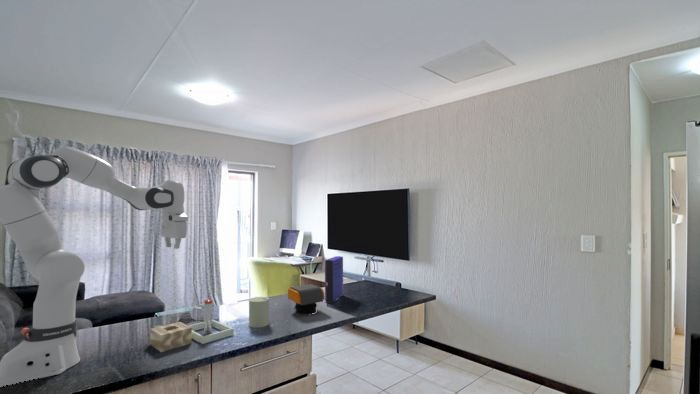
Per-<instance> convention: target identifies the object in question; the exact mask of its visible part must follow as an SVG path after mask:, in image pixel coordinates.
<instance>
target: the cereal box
mask: <svg viewBox="0 0 700 394" xmlns="http://www.w3.org/2000/svg"><path fill="white" fill-rule="evenodd" d="M341 295H343V296H344V257H343V256H341V255H340V256H339V255H337V256H336V255H335V256H333V257H331V258H327V259H325V260H324V296H325V299H324V302H325V301H326V302H325V303H327V302H333V301H335V300H336V299H337V298H339V297H340V296H341ZM339 299H340V298H339ZM336 301H337V300H336ZM336 301H335V302H336Z"/></svg>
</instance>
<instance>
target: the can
mask: <svg viewBox="0 0 700 394" xmlns="http://www.w3.org/2000/svg"><path fill="white" fill-rule="evenodd" d="M269 325H270V297H268V296H255V297H251V298H250V299H248V327H250V328H255V329H258V328H259V329H261V328H265V327H266V326H269Z"/></svg>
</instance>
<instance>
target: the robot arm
mask: <svg viewBox="0 0 700 394" xmlns="http://www.w3.org/2000/svg"><path fill="white" fill-rule="evenodd" d="M5 176H6V177H5V183H4V185H3V186H0V222H1V224H2V225H3V227H4V228H5V230H6V232H7V233H8V235H9V236H10V238H11V240H12V241H13V242H14V244H15V246H16V248H17V250H18V252H19V254H20V257H21V258H22V260H23V262H24V265H26V268H27V270H28V271H29V273H30V276H32V278H34V279H35V280H37V281H38V288H37V293H36V297H35V300H34V301H33V306H32V327H24V328H22V329H21V331H20V333H21V335H23V340H22V342H20V343H19V344H17V345H16V346H15V347H13V348H12V349H11V350H9V351H8V352H7V353H5V354H4V355H3V356H2V358H1V359H0V388H2V387H3V386H4V387H7V386H6V385H8V386H12V384H13V385H16V383H17V384H20V383H19V382H21V383H25V382H24V381H26V382H29V380H30V381H34V380H33V379H35V380H38V378H39V379H43V378H47V377H51V376H55V375H60V374H62V373H64V372H66V370H68V369H70V368H72V367H74V366H75V365H77V364H78V363H79V362H80V361H81V357H80V355H79V351H78V346H77V340H76V339H77V333H78V323H77V322H78V321H77V320H76V308H77V307H76V304H77V295H78V290H79V288H80V287H79V286H80V282H81V277H83V275H84V273H85V270H86V269H85V266H86V265H85V263H84V261H83V260H82V259H81V258H80V257H79V255H77V254H75V253H72V252H68V251H66V250H65V248H64V247H63V244H62V242H61V240H60V237H59V236H60V235H59V230H58V228H57V227H56V225H55V223H54V221H53V219H52V217H50V215H49V213H48V211H47V209H46V208H45V206H44V205H43V204H42V201H41V199H40V191H41V190H42V189H47V188H50V187H51V188H52V187H54V186H55V185H57V184H58V183H60V182H61V181H62V180H63V179H64V178H66V179H71V180H72V181H75V182H77V183H80V184H81V185H85V186H87V187H91V188H95V189H98V190H101V191H102V190H103V191H105V192H107V193H110V194H111V195H113V196H116V197H118V198H121V199H122V200H124V201H125V202H127V203H128V204H129V205H130V206H131V207H132V208H134V209H135V210H137V211H147V210H159V209H161V226H160V236H161V237H163V238H164V241H165V247H166V248H172V242H171V239H174V241H175V242H174V245H173V248H174V249H176V250H177V249H180V248H181V247H180V245H181V242H182V239H185V238H186V236H187V232H188V231H187V230H188V222H187V221H189V216H188V215H187V214H186V213H185V208H184V205H185V204H184V203H185V188H184V184H183V183H182V182H179V181H176V180H169V179H167V180H164V181H163V182H162V183H160V184H157V185H154V186H151V187H149V186H148V187H136V186H133V185H131V184H129V183H126V182H124V181H123V180H121V179H119V178H117V177H116V173H115V168H114V166H113V165H111V163H109V162H108V161H106V160H104V159H102V158H100V157H98V156H96V155H93V154H91V153H89V152H87V151H83V150H82V149H78V148H74V147H72V146H60V147H58V148H56V149H55V150H54V151H53V152H52V153H51V154H40V155H39V154H37V155H29V156H25V157H21V158H19V159H17V160H15V161H13V162H12V163H10V165H9V166H8V167H7V170H6V174H5Z"/></svg>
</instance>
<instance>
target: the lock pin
mask: <svg viewBox="0 0 700 394" xmlns="http://www.w3.org/2000/svg"><path fill="white" fill-rule="evenodd" d="M203 316H204V317H203V320H204V328H203V336H206V335H210V334H213V327H212V319H213V299H205V300H204V301H203Z"/></svg>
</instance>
